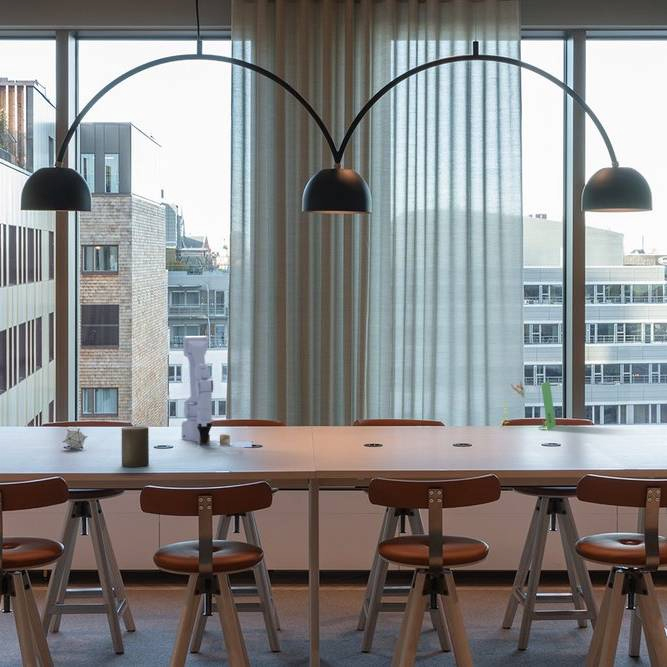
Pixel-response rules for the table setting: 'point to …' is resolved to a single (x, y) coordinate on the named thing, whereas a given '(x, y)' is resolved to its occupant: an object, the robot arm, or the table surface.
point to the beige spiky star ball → (75, 439)
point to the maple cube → (224, 439)
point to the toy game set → (547, 404)
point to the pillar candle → (135, 446)
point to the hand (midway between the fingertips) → (204, 442)
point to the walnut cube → (207, 441)
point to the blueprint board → (232, 444)
